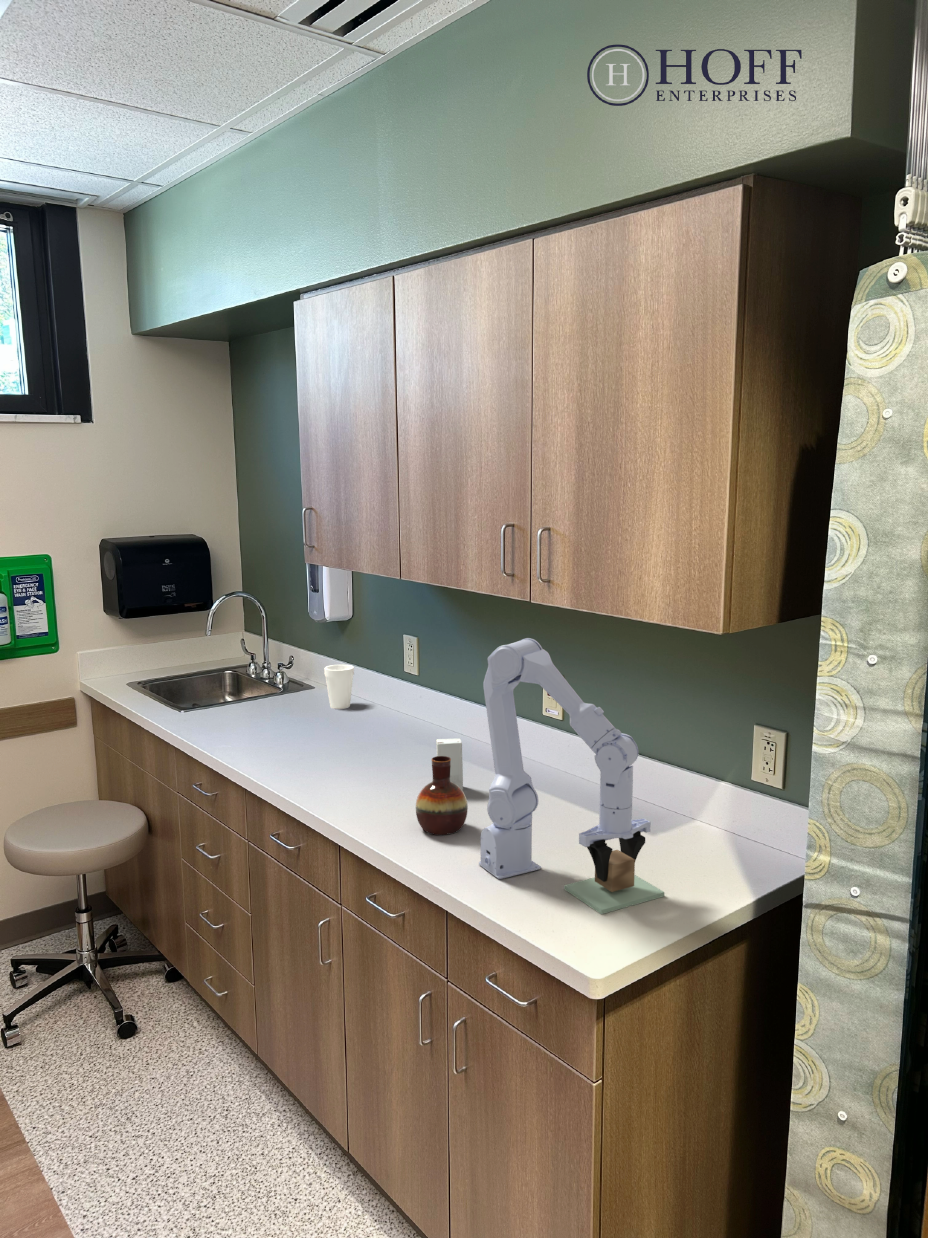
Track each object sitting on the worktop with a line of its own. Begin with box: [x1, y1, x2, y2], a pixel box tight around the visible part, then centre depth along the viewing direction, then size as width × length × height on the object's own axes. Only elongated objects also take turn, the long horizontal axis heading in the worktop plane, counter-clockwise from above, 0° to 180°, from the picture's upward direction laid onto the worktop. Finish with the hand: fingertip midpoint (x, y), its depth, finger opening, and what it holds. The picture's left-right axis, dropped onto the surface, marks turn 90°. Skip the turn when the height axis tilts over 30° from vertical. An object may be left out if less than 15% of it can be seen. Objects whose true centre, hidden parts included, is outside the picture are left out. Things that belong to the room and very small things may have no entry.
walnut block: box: [594, 849, 636, 892], centre depth 166 cm, size 5×5×5 cm
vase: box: [415, 755, 469, 836], centre depth 196 cm, size 11×11×15 cm
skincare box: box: [435, 738, 464, 792], centre depth 221 cm, size 6×4×12 cm
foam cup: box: [323, 664, 355, 710], centre depth 300 cm, size 10×9×13 cm
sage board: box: [563, 873, 665, 915], centre depth 166 cm, size 14×11×1 cm
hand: (614, 876), depth 166 cm, fingers closed on walnut block, 5 cm apart
